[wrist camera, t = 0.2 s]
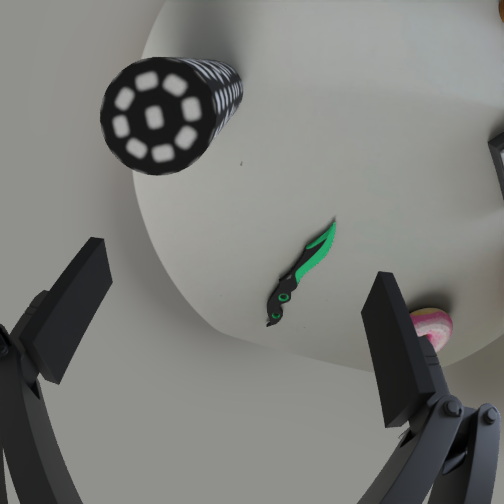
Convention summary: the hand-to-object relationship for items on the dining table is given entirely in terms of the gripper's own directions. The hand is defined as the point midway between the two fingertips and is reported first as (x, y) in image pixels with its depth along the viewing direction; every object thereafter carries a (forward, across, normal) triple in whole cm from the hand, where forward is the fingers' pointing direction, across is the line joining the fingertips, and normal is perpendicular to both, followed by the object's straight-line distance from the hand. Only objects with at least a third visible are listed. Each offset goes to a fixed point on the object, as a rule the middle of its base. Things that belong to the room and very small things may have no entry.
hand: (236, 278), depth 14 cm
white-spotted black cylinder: (+29, -7, +5) cm, 30 cm away
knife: (+28, +8, -22) cm, 37 cm away
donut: (+28, +36, -32) cm, 56 cm away
